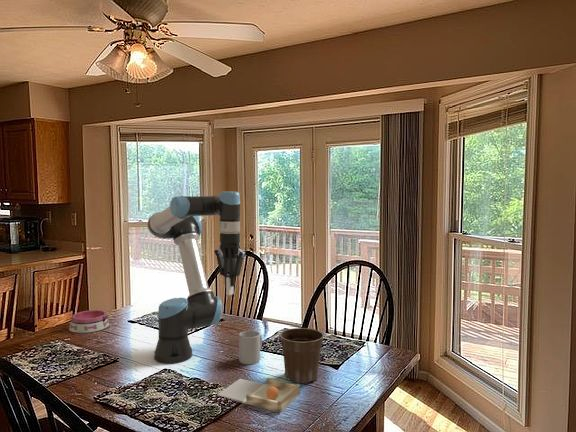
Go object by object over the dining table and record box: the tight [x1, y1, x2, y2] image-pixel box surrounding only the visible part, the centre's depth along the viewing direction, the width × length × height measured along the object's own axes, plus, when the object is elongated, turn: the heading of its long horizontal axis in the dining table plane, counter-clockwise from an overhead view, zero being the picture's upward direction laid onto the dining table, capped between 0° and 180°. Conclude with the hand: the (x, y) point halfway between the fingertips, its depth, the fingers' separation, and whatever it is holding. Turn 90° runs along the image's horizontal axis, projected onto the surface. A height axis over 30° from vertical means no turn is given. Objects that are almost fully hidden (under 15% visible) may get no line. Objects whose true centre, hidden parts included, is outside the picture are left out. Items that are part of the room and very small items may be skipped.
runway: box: [216, 378, 301, 414], centre depth 151 cm, size 24×14×1 cm, turn 63°
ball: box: [266, 386, 278, 400], centre depth 147 cm, size 4×4×4 cm
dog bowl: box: [68, 309, 111, 334], centre depth 221 cm, size 18×19×7 cm
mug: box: [238, 330, 263, 365], centre depth 182 cm, size 12×8×11 cm
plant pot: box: [279, 327, 325, 384], centre depth 165 cm, size 16×16×16 cm
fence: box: [246, 378, 301, 413], centre depth 148 cm, size 12×14×4 cm
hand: (229, 294), depth 169 cm, fingers closed
